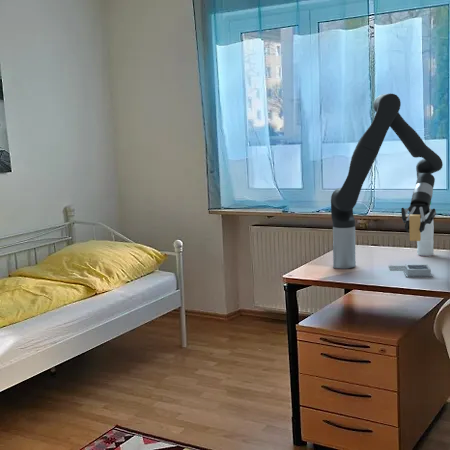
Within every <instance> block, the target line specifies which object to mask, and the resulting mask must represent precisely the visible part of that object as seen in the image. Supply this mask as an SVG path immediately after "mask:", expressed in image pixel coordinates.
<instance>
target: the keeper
mask: <svg viewBox="0 0 450 450" xmlns="http://www.w3.org/2000/svg"><path fill="white" fill-rule="evenodd" d="M404 266H405V270H403V271H402V272H403V275H404V277H405V278H434V275H433V274H432V271H431V270H432V269H431V268H430V265H428V264H405V265H404Z"/></svg>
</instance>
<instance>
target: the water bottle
mask: <svg viewBox="0 0 450 450" xmlns="http://www.w3.org/2000/svg"><path fill="white" fill-rule="evenodd" d="M431 205H432V202H431V203H430V207H429V208H430V209H431ZM429 214H430V213H428V214H426V215H425V219H427V218H428V216H429ZM421 222H422V219H421ZM434 224H435V223H434V219H433V220H432V222H431V223H430V224H426V225H425V228H424V231H422V232H421V240H420V241H416V243H417V244H416V245H417V249H416V254H417V255H418V256H421V257H431V256H433V255H435V253H434V245H435V244H434V243H435V242H434V232H435V231H434V230H435V229H434Z"/></svg>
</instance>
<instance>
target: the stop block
mask: <svg viewBox="0 0 450 450" xmlns="http://www.w3.org/2000/svg"><path fill="white" fill-rule="evenodd" d="M420 224H421V214H410V216H409V225H410V228H409V242H417V241H420V240H421V232H420V230H419V228H420Z"/></svg>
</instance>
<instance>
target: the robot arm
mask: <svg viewBox="0 0 450 450" xmlns="http://www.w3.org/2000/svg"><path fill="white" fill-rule="evenodd" d="M401 103H402V102H401V99H400V97H399V95H397V94H395V93H383V94H380V95H378V96H377V97H376V98H375V99H374V100H373V109H374V112H375V115H374V117H373V120H372V122H371V124H369V127H368V128H367V129H366V131H365V132H364V133H363V134H362V136H361V138H360V139H359V140H358V142H357V143H356V144H357V145H356V147H355V149H354V150H353V152H352V155H351V159H350V163H349V167H348V168H349V169H348V173H347V176H346V177H345V178H346V179H345V180H344V182H343V184H342V186H341V187H338V188H336V189H334V190H333V192H331V193H332V194H331V196H330V215H331V216H330V217H331V220H332V221H331V222H332V256H333V257H332V261H333V262H332V263H333V264H332V265H333V269H334V268H335V269H343V270H344V269H345V270H347V269H353V268H355V267H356V263H357V262H356V261H357V260H356V258H357V257H356V219H355V217H354V210H353V209H354V207H355V206H356V205H357V202H358V200H359V196H360V194H361V191H362V188H363V185H364V183H365V181H366V178H367V176H368V175H369V172H371V169H372V167H373V165H374V162H376V158H377V157H378V154H379V152H380V149H381V147H382V145H383V143H384V140H385V138H386V135H387V133H388V130H389V129H392V131H393V132H394V133H395V134H396V136H397V137H398V138H399V140H400V141H401V143H402V144H403V145H404V147H405V148H406V149H407V151H408V152H409V154H410V155H411V156H412V158H416V159H417V158H422V159H420V160H419V161H418V162H417V164H416V168H415V169H416V183H415V185H414V188H413V191H412V195H411V200H410V205H409V206H408V207H407V208H405V207H402V208H400V209H401V212H400V213H401V220H402V222H403V224H404V229H405V231H406V232H408V233H410V225H409V216H410V214H421V219H422V222H421V224H420V228H419V230H420V232H422V231H424V228H425V225H426V224H430V223H431V222H432V220H433V221H434V218H435V216H436V215H437V211H436V209H435V208H432V209H430V208H431V206H430V203H431V204H432V199H433V191H434V186H435V182H436V181H435V180H436V178H435V176H434V175H433V174H434V173H436V172H439V171H441V170H442V169H443V165H444V163H443V160H442V158H441V157H440V156H439V155H438V154H437V153H436V152H435V151H434V150H433V149H431V148H430V147H428V145H426V142H424V141H423V139H422V138H421V136H420V135H419V133H418V132H417V131H416V130H415V129H414V128H413V127H412V126H411V125H409V123H408V122H407V121H406V120H405V119H404V118H403V117H402V115H401V114H400V112H399V111H400V109H401ZM429 207H430V208H429ZM408 212H409V213H408ZM428 213H430V214H429V216H428V218H427V219H425V215H426V214H428ZM407 215H408V216H407Z"/></svg>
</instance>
